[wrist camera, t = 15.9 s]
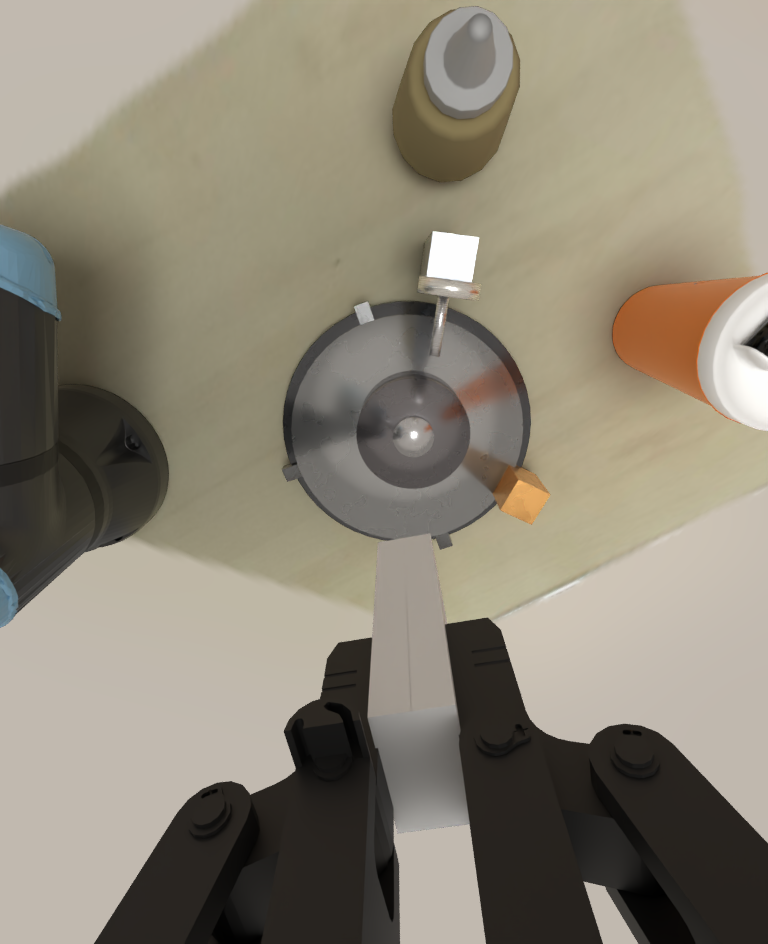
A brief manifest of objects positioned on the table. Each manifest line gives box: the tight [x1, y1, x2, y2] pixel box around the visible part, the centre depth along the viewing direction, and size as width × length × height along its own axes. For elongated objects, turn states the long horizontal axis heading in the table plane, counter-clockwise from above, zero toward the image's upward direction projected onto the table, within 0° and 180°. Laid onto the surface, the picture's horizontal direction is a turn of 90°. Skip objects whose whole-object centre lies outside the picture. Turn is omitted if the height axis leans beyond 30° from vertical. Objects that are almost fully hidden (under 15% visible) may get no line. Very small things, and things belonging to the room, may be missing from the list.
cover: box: [356, 371, 470, 489], centre depth 45 cm, size 9×9×5 cm
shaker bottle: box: [612, 273, 768, 431], centre depth 37 cm, size 9×9×20 cm
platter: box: [282, 301, 550, 549], centre depth 46 cm, size 20×22×5 cm
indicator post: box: [417, 231, 482, 357], centre depth 40 cm, size 4×8×13 cm, turn 173°
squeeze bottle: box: [392, 6, 520, 182], centre depth 33 cm, size 8×8×18 cm
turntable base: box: [283, 301, 531, 541], centre depth 49 cm, size 22×22×1 cm
